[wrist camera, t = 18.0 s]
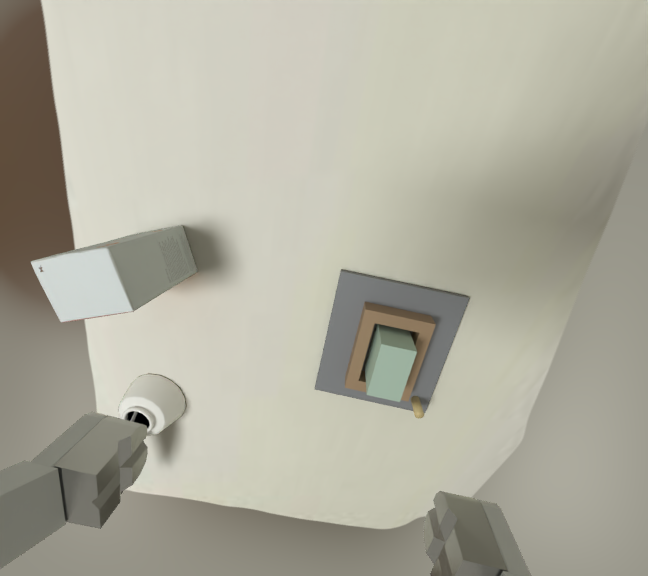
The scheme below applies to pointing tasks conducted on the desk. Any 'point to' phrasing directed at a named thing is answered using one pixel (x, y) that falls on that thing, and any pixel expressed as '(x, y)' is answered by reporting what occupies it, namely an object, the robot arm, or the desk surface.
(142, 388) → the inkwell
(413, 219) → the desk surface
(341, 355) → the keyed plate
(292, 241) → the desk surface
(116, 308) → the small box
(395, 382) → the sage block
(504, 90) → the desk surface
